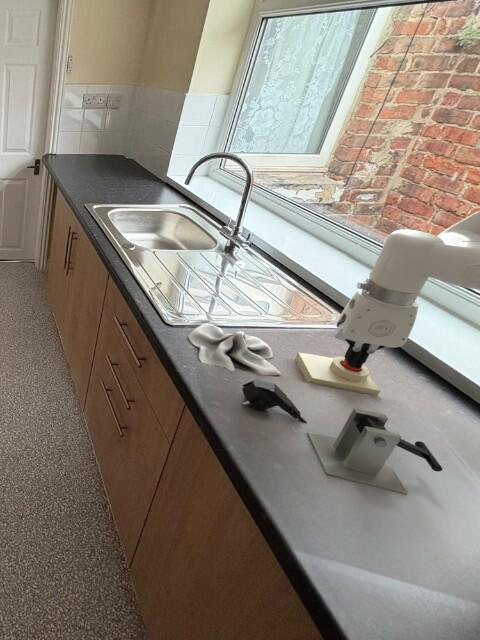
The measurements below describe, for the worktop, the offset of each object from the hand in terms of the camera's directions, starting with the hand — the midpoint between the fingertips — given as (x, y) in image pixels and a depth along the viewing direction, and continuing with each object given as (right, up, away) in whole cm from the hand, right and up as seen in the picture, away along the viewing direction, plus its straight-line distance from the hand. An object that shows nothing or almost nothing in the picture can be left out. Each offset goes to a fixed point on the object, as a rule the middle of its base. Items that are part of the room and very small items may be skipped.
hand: (352, 363), depth 90 cm
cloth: (-20, -1, +10) cm, 22 cm away
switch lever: (-13, -9, -20) cm, 25 cm away
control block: (-2, -4, +3) cm, 5 cm away
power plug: (-22, -9, -6) cm, 24 cm away
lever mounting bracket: (-16, -14, -17) cm, 27 cm away
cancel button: (0, -2, +1) cm, 2 cm away
